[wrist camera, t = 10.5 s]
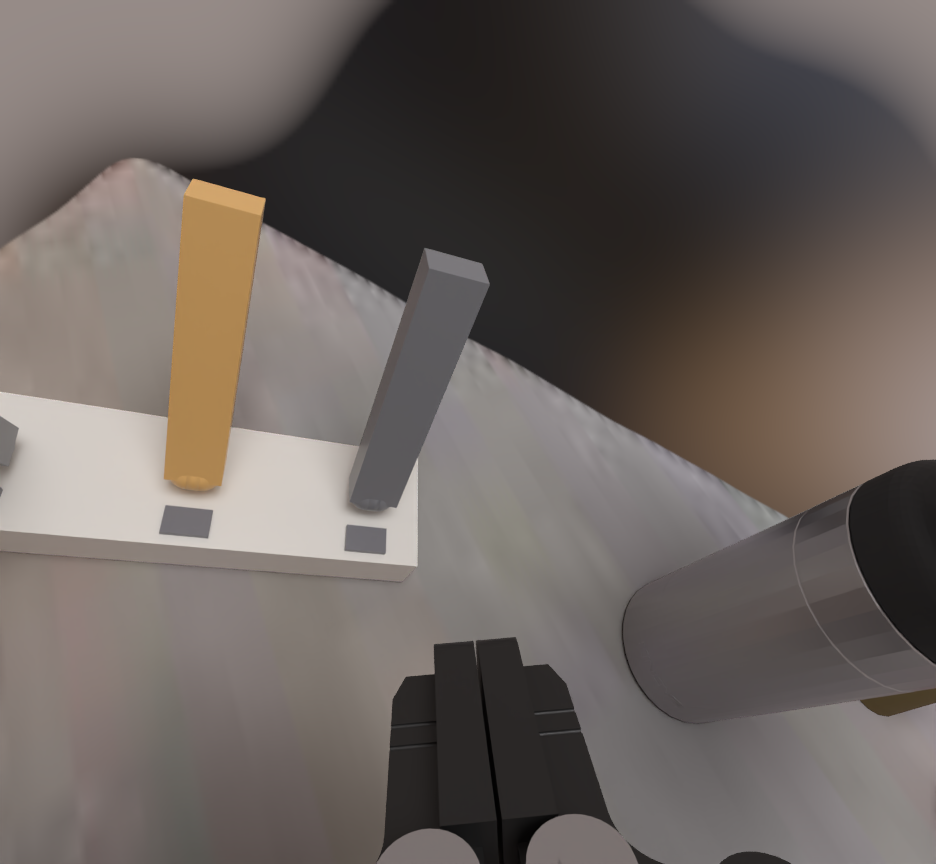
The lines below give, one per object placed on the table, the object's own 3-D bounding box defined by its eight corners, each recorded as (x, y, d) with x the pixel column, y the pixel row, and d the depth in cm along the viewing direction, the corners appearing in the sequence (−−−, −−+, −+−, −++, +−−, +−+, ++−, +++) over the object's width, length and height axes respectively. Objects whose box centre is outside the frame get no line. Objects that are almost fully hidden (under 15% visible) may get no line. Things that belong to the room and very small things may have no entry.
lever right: (389, 494, 35) (481, 262, 26) (391, 520, 33) (490, 285, 25) (344, 488, 34) (424, 246, 25) (345, 515, 33) (429, 269, 24)
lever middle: (224, 474, 32) (265, 198, 23) (219, 501, 30) (261, 216, 22) (170, 467, 31) (193, 177, 23) (162, 495, 30) (183, 195, 21)
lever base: (403, 476, 39) (419, 453, 37) (401, 582, 36) (419, 564, 33) (-43, 414, 31) (-63, 379, 29) (-103, 543, 28) (-133, 516, 25)
